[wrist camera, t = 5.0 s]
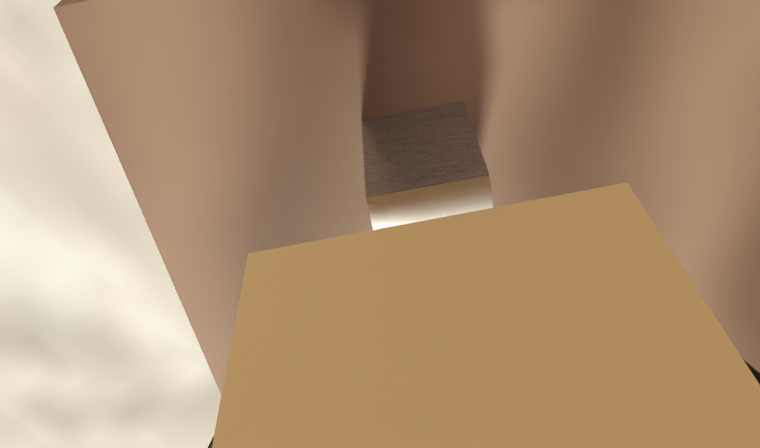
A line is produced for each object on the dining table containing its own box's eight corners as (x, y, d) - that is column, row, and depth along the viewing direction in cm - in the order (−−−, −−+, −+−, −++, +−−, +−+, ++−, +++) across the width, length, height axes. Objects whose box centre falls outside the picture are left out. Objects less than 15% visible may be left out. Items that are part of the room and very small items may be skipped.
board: (1090, -219, 15) (1157, -216, 14) (916, 342, 24) (948, 375, 23) (75, -13, 16) (53, 7, 15) (264, 447, 25) (260, 484, 24)
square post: (463, 100, 17) (489, 175, 14) (474, 189, 18) (500, 273, 15) (361, 119, 17) (365, 197, 14) (379, 205, 18) (387, 293, 15)
